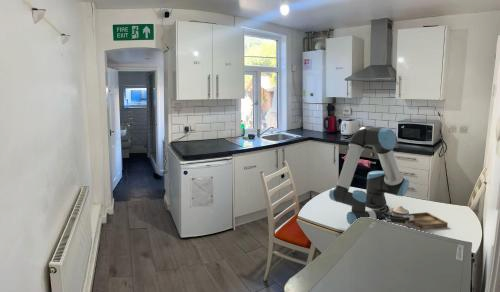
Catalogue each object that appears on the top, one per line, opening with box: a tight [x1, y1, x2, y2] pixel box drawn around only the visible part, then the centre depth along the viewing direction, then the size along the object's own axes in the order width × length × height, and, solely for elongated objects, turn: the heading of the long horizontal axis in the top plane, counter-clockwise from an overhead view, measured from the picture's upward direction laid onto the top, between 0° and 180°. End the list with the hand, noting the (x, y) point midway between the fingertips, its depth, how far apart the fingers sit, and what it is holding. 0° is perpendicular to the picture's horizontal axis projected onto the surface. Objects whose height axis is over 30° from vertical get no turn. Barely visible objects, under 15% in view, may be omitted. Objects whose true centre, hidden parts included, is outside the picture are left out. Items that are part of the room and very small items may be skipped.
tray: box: [408, 211, 448, 230], centre depth 210 cm, size 17×17×2 cm
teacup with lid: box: [391, 205, 410, 228], centre depth 207 cm, size 12×9×12 cm
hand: (405, 213), depth 207 cm, fingers open, 13 cm apart
